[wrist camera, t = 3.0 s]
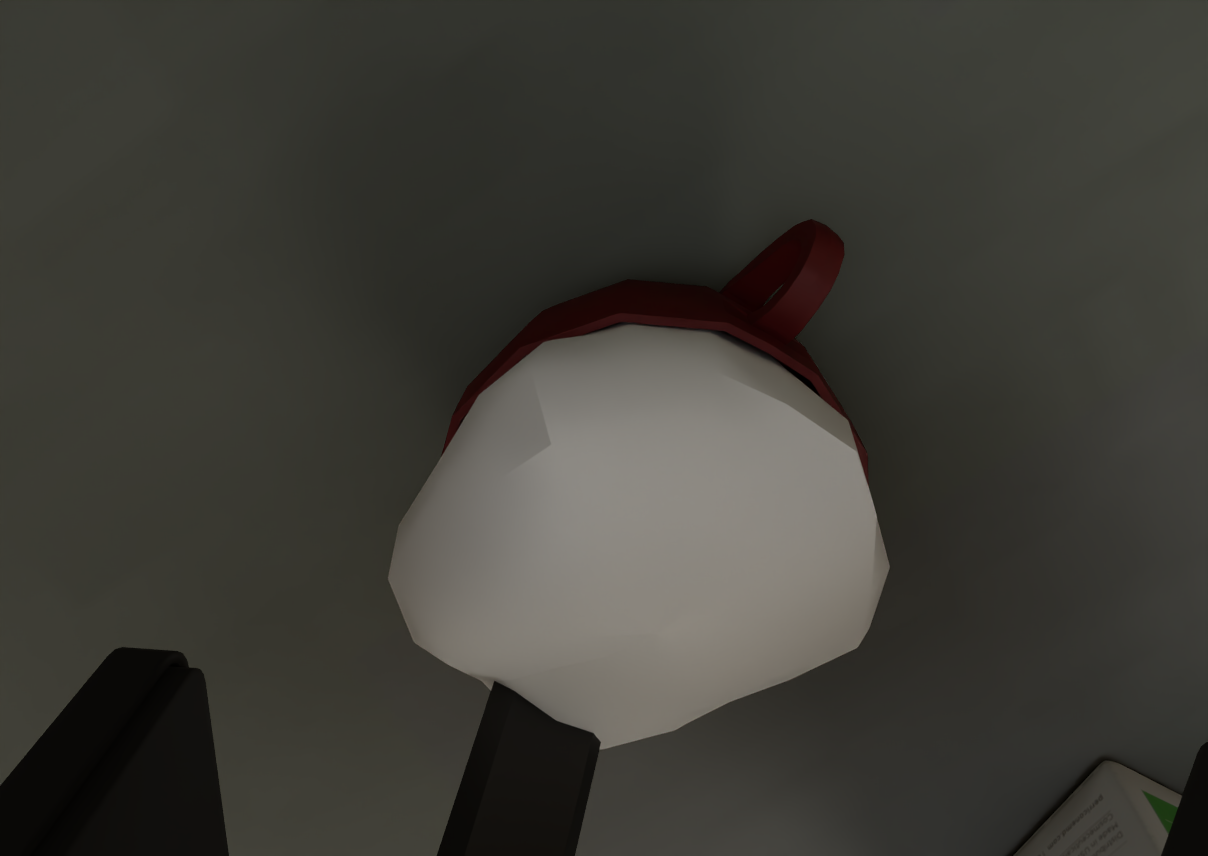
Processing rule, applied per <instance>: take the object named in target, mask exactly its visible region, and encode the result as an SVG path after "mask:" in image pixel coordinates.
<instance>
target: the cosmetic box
mask: <svg viewBox="0 0 1208 856" xmlns="http://www.w3.org/2000/svg"><path fill="white" fill-rule="evenodd" d="M1181 798H1182V796H1181V795H1179V794H1177V793H1176V792H1174V791H1172V790H1170V789H1168V788H1166V787H1164V786H1162V785H1160V784H1158V783H1156V782H1154V781H1152V780H1150V779H1148V778H1146V777H1144V776H1142V775H1140V774H1139V773H1137V772H1135V771H1133V770H1131V769H1129V768H1127V767H1125V766H1123V765H1121V764H1119V763H1116V762H1112V761H1103V762H1102V763H1101V764H1100V765H1099V766H1098V767H1097V768H1096V769H1095V770H1094V771H1093V772H1092V773H1091V774H1090V775H1089V776H1088V777H1087V778H1086V780H1085V781H1084V782H1083V783H1082V784H1081V785H1080V786H1079V787H1078V788H1077V789H1076V790H1075V791H1074V792H1073V793H1072V794H1071V795H1070V797H1069V798H1068V799H1067V800H1066V801H1065V802H1064V803H1063V804H1062V805H1061V806H1060V807H1059V808H1058V809H1057V810H1056V811H1055V812H1054V813H1053V814H1052V816H1051V817H1050V818H1049V819H1048V820H1047V821H1046V822H1045V823H1044V824H1043V825H1042V826H1041V827H1040V828H1039V829H1038V830H1037V831H1036V832H1035V833H1034V834H1033V836H1032V837H1031V838H1030V839H1029V840H1028V841H1027V842H1026V843H1025V844H1024V845H1023V846H1022V847H1021V848H1020V849H1019V850H1018V851H1017V852H1016V853H1015V854H1014V855H1013V856H1161V854H1162V851H1163V848H1164V846H1165V843H1166V840H1167V837H1168V834H1169V832H1170V829H1171V826H1172V823H1173V820H1174V818H1175V815H1176V812H1177V809H1178V806H1179V804H1180V801H1181Z"/></svg>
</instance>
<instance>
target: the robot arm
mask: <svg viewBox="0 0 1208 856" xmlns="http://www.w3.org/2000/svg"><path fill="white" fill-rule="evenodd" d="M0 856H229V853H228V846H227V838H226V831H225V823H224V816H223V808H222V801H221V794H220V786H219V779H218V771H217V764H216V756H215V749H214V742H213V734H212V727H211V719H210V712H209V704H208V697H207V689H206V682H205V678H204V674H203V673H202V671H201V670H200V669H197V668H189V666H188V662H187V659H186V658H185V656H184V655H183V653H181V652H178V651H168V650H154V649H141V648H127V647H121V648H118V649H115V650H114V651H113V652H112V653H111V654H109V655H108V656H107V658H106V659H105V660H104V661H103V662H102V664H101V665H100V666H99V667H98V668H97V670H96V671H95V672H94V673H93V674H92V676H91V677H90V678H89V679H88V680H87V682H86V683H85V684H84V685H83V687H82V688H81V689H80V690H79V691H78V693H77V694H76V695H75V696H74V697H73V699H72V700H71V701H70V702H69V703H68V705H67V706H66V707H65V708H64V709H63V711H62V712H61V713H60V714H59V716H58V717H57V718H56V719H55V720H54V722H53V723H52V724H51V725H50V726H49V728H48V729H47V730H46V731H45V732H44V734H43V735H42V736H41V737H40V738H39V740H38V741H37V742H36V743H35V745H34V746H33V747H32V748H31V749H30V751H29V752H28V753H27V754H26V755H25V757H24V758H23V759H22V760H21V761H20V763H19V764H18V765H17V766H16V767H15V769H14V770H13V771H12V772H11V773H10V775H9V776H8V777H7V778H6V780H5V781H4V782H3V783H2V784H1V786H0ZM1161 856H1208V742H1206V743H1205V744H1204V745H1202V746H1201V748H1200V750H1199V751H1198V753H1197V756H1196V759H1195V762H1194V764H1193V767H1192V770H1191V773H1190V776H1189V778H1188V781H1187V784H1186V787H1185V790H1184V792H1183V795H1182V798H1181V801H1180V804H1179V806H1178V809H1177V812H1176V815H1175V818H1174V820H1173V823H1172V826H1171V829H1170V832H1169V834H1168V837H1167V840H1166V843H1165V846H1164V848H1163V851H1162V854H1161Z"/></svg>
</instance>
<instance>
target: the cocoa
mask: <svg viewBox="0 0 1208 856" xmlns="http://www.w3.org/2000/svg"><path fill="white" fill-rule="evenodd" d="M843 258H844V243H843V241H842V240H841V239H840V237H839V236H838V235H837V234H836V233H834V232H833V231H832V230H831V229H830V228H829V227H827V226H826V225H824V224H822V223H819V222H817V221H814V220H812V219H811V220H807V221H804V222H802V223H799V224H797V225H795V226H793V227H792V228H791V229H789V230H788V231H787V232H786V233H784V234H783V235H782V236H780V237H779V238H778V239H776V240H775V241H774V242H773V243H772V244H771V245H769V246H768V247H767V248H766V249H765V250H764V251H762V252H761V253H760V254H759V255H758V256H757V257H756V258H755V259H754V260H753V261H751V262H750V263H749V264H748V265H747V266H746V267H745V268H744V269H743V270H742V271H741V272H740V273H739V274H737V275H736V276H735V277H734V278H733V279H732V280H731V281H729V283H728V284H727V285H726V286H725V287H724V288H723V289H722V290H721V291H720V292H717V291H715V290H713V289H711V288H709V287H707V286H696V285H685V284H674V283H663V282H652V281H641V280H630V279H627V280H625V281H622V282H619V283H616V284H613V285H610V286H608V287H605V288H602V289H599V290H596V291H594V292H591V293H588V294H585V295H582V296H580V297H577V298H574V299H571V300H568V301H566V302H563V303H560V304H557V305H554V306H552V307H550V308H548V309H546V310H544V311H542V312H541V313H540V314H539V315H537V316H536V317H535V318H534V319H533V320H532V321H531V322H530V323H529V324H528V325H527V326H526V327H525V328H524V329H523V330H522V331H521V332H520V333H519V334H518V335H517V336H516V337H515V338H514V339H513V340H512V341H511V342H510V343H509V344H508V345H507V346H506V347H505V348H504V349H503V350H502V351H501V352H500V353H499V354H498V355H497V356H496V357H495V359H494V360H493V361H492V362H491V363H490V364H489V365H488V366H487V367H486V368H485V369H484V370H483V371H482V372H481V373H480V374H479V375H478V376H477V377H476V378H475V379H474V380H473V381H472V382H471V383H470V384H469V385H468V386H467V388H466V390H465V392H464V394H463V396H462V398H461V400H460V401H459V403H458V405H457V408H456V410H455V412H454V414H453V416H452V419H451V423H450V426H449V430H448V433H447V437H446V441H445V444H444V448H443V452H442V455H441V458H440V460H439V462H438V463H437V465H436V467H435V468H434V470H433V471H432V473H431V474H430V476H429V478H428V479H427V481H426V482H425V484H424V486H423V487H422V489H421V490H420V492H419V494H418V495H417V497H416V498H415V500H414V502H413V503H412V505H411V506H410V508H409V510H408V511H407V513H406V514H405V516H404V517H403V519H402V521H401V522H400V524H399V526H398V531H397V536H396V541H395V546H394V551H393V556H392V561H391V566H390V570H389V575H388V581H389V583H390V586H391V588H392V590H393V593H394V595H395V598H396V600H397V603H398V605H399V607H400V610H401V612H402V615H403V617H404V619H405V622H406V624H407V627H408V629H409V632H410V634H411V636H412V639H413V641H414V643H416V644H417V645H419V646H420V647H422V648H423V649H425V650H426V651H428V652H429V653H431V654H432V655H434V656H435V657H437V658H439V659H440V660H442V661H443V662H445V663H446V664H448V665H449V666H452V667H454V668H456V669H458V670H460V671H462V672H464V673H466V674H468V675H470V676H472V677H474V678H476V679H479V680H481V681H482V682H483V683H484V684H485V685H486V686H487V687H488V688H489V689H490V691H491V692H490V695H489V698H488V701H487V704H486V708H485V711H484V714H483V717H482V720H481V723H480V726H479V729H478V732H477V735H476V738H475V741H474V744H473V747H472V750H471V753H470V756H469V759H468V762H467V765H466V768H465V771H464V775H463V778H462V781H461V784H460V787H459V790H458V793H457V796H456V799H455V802H454V805H453V808H452V811H451V814H450V817H449V820H448V823H447V826H446V829H445V832H444V835H443V838H442V842H441V845H440V848H439V851H438V854H437V856H575V852H576V848H577V844H578V839H579V835H580V831H581V826H582V822H583V818H584V814H585V809H586V805H587V801H588V796H589V792H590V788H591V783H592V779H593V775H594V770H595V766H596V762H597V757H598V753H599V750H602V749H606V748H610V747H614V746H617V745H621V744H625V743H629V742H633V741H636V740H640V739H644V738H648V737H652V736H655V735H659V734H663V733H667V732H671V731H675V730H677V729H678V728H680V727H682V726H683V725H685V724H687V723H689V722H691V721H693V720H695V719H697V718H699V717H701V716H703V715H705V714H707V713H709V712H711V711H713V710H715V709H717V708H719V707H721V706H723V705H725V704H727V703H729V702H731V701H734V700H736V699H739V698H742V697H744V696H747V695H750V694H753V693H755V692H758V691H761V690H764V689H766V688H769V687H772V686H774V685H777V684H780V683H783V682H785V681H788V680H791V679H793V678H795V677H797V676H799V675H801V674H803V673H805V672H807V671H810V670H812V669H814V668H816V667H818V666H820V665H822V664H824V663H826V662H829V661H831V660H833V659H835V658H837V657H839V656H841V655H843V654H845V653H848V652H850V651H852V650H854V649H856V648H858V646H859V645H860V643H861V641H862V640H863V638H864V636H865V635H866V633H867V631H868V630H869V628H870V625H871V622H872V619H873V616H874V613H875V610H876V607H877V604H878V601H879V598H880V595H881V592H882V589H883V586H884V583H885V580H886V577H887V574H888V571H889V568H890V565H889V561H888V558H887V554H886V550H885V546H884V543H883V539H882V535H881V532H880V528H879V524H878V520H877V515H876V511H875V508H874V504H873V501H872V497H871V494H870V490H869V482H868V454H867V452H866V450H865V448H864V445H863V443H862V441H861V439H860V437H859V436H858V434H857V432H856V430H855V428H854V426H853V424H852V422H851V420H850V419H849V417H848V416H847V414H846V412H845V411H844V409H843V408H842V406H841V404H840V403H839V401H838V400H837V398H836V396H835V395H834V393H833V392H832V390H831V388H830V387H829V385H828V384H827V382H826V381H825V379H824V377H823V376H822V374H821V373H820V371H819V369H818V368H817V366H816V365H815V363H814V361H813V360H812V358H811V357H810V355H809V353H808V352H807V350H806V349H805V347H804V346H803V345H802V344H800V343H799V342H798V341H797V340H796V339H795V337H796V336H797V335H798V334H799V332H800V331H801V330H802V329H803V328H804V327H805V325H806V324H807V323H808V321H809V320H810V319H811V318H812V316H813V315H814V314H815V312H816V311H817V310H818V308H819V307H820V305H821V304H822V302H823V301H824V299H825V298H826V296H827V295H828V293H829V292H830V290H831V288H832V286H833V284H834V282H835V280H836V278H837V276H838V274H839V271H840V267H841V264H842V261H843ZM784 282H785V283H784ZM783 283H784V285H783V286H782V288H781V289H780V290H779V291H778V292H777V293H776V294H775V295H774V296H773V297H772V298H771V299H770V300H769V301H768V302H767V304H766V305H764V303H765V302H766V301H767V299H768V298H769V297H770V296H771V295H772V294H773V293H774V292H775V291H776V290H777V289H778V288H779V287H780V286H781V285H782V284H783ZM763 305H764V306H763Z"/></svg>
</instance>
